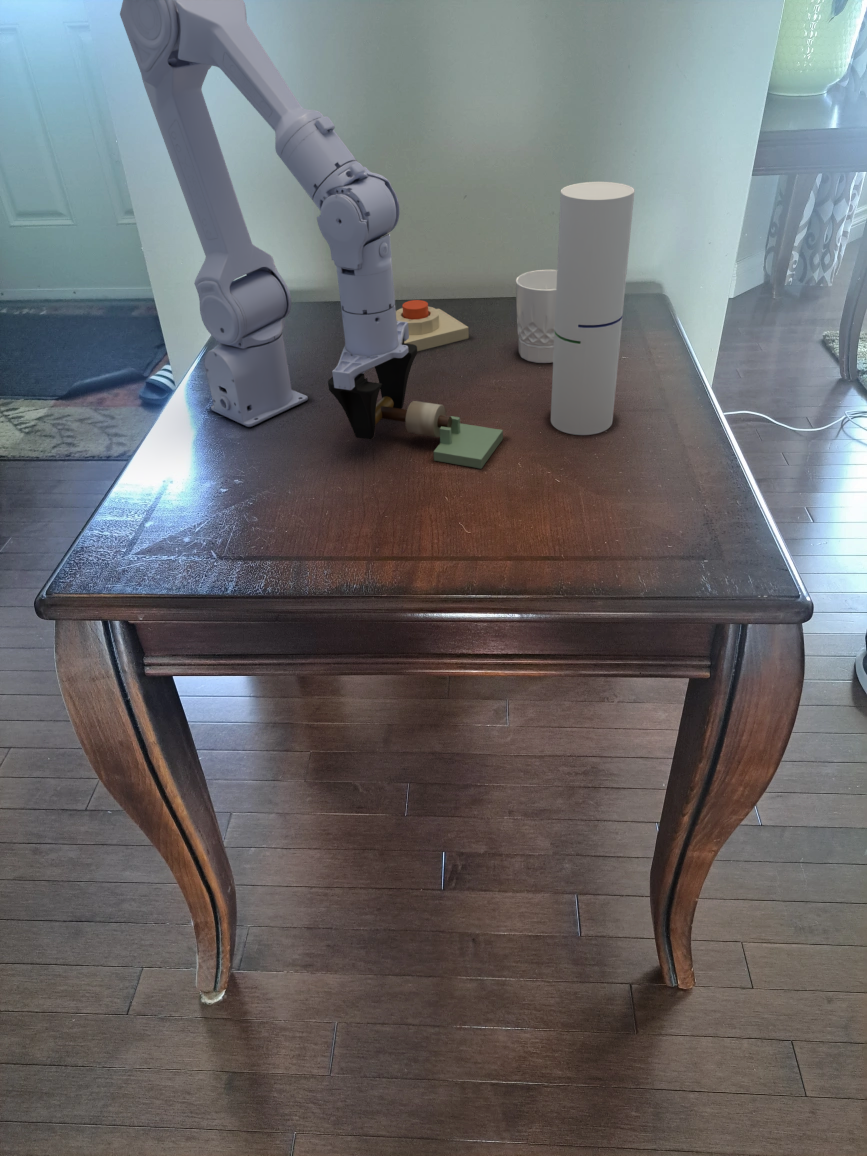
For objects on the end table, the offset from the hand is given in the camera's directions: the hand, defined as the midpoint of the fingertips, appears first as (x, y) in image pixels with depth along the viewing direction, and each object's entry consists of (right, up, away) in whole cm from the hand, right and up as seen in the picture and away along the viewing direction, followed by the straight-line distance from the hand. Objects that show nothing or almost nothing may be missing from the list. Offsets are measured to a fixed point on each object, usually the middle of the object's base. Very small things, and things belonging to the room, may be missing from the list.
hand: (379, 421), depth 95 cm
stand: (+10, -4, -3) cm, 11 cm away
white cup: (+21, +12, +17) cm, 30 cm away
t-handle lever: (+4, -1, -1) cm, 4 cm away
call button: (+4, +19, +22) cm, 29 cm away
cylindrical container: (+24, 0, +2) cm, 24 cm away
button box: (+4, +17, +24) cm, 29 cm away
